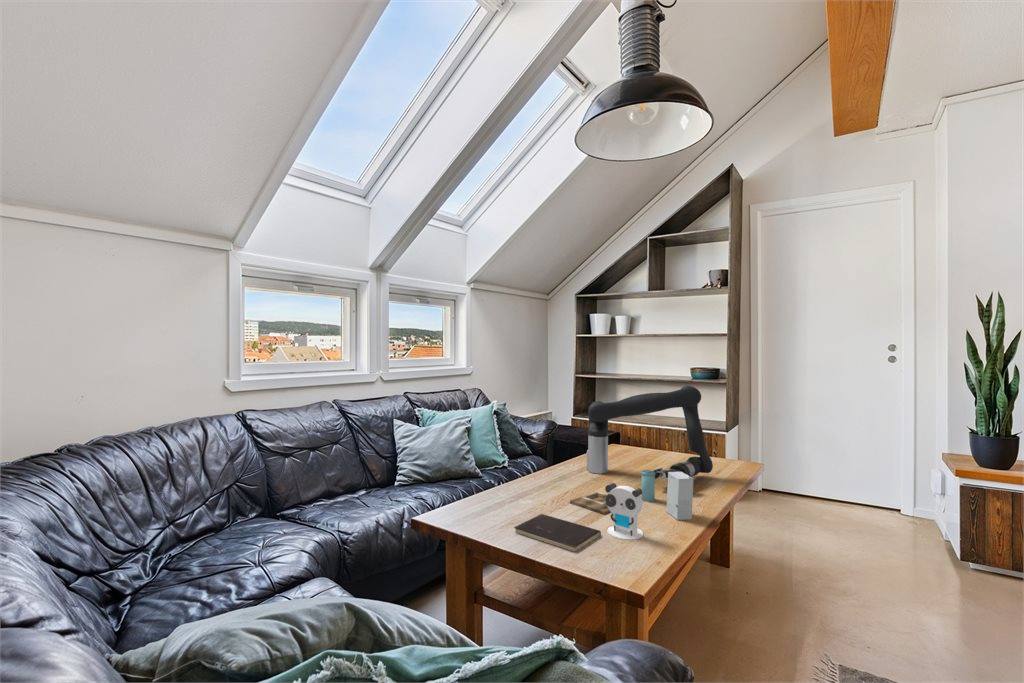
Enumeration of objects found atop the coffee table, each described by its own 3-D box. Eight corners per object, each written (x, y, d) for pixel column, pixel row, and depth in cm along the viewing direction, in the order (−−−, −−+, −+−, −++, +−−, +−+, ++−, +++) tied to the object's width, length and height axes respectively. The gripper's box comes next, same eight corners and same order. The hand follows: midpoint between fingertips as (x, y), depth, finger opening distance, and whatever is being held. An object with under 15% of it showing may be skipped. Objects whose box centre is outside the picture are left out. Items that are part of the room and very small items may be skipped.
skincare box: (666, 512, 173) (666, 471, 173) (681, 511, 174) (681, 470, 174) (677, 520, 165) (677, 478, 165) (693, 519, 166) (693, 477, 166)
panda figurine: (599, 532, 155) (599, 486, 155) (616, 522, 163) (616, 479, 163) (633, 543, 147) (633, 494, 147) (649, 532, 155) (649, 486, 155)
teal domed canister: (638, 499, 187) (638, 471, 187) (645, 496, 191) (645, 469, 191) (650, 503, 183) (650, 474, 183) (657, 499, 187) (657, 471, 187)
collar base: (569, 503, 183) (569, 497, 183) (595, 494, 193) (595, 488, 193) (603, 514, 171) (603, 507, 171) (629, 504, 182) (629, 497, 182)
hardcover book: (574, 554, 140) (574, 546, 140) (514, 534, 155) (514, 527, 155) (600, 537, 153) (600, 529, 153) (542, 519, 167) (542, 513, 167)
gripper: (667, 459, 210) (647, 466, 199) (698, 466, 200) (678, 473, 189) (667, 476, 210) (647, 484, 199) (698, 483, 200) (678, 492, 189)
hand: (662, 478), depth 194 cm, fingers open, 8 cm apart
